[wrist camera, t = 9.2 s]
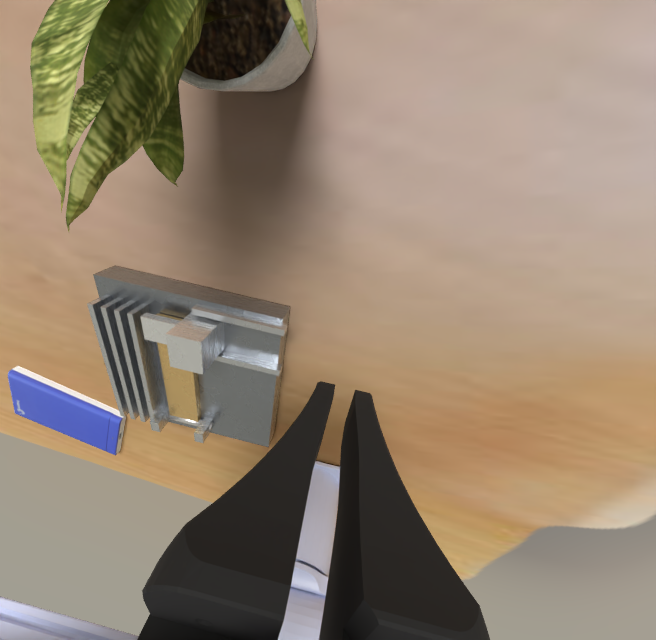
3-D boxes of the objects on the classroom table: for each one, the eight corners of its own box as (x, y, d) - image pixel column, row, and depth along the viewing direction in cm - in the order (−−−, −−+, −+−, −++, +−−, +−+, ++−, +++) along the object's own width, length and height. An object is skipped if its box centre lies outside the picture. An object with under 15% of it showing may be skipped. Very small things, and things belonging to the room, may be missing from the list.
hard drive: (14, 415, 34) (114, 457, 36) (6, 372, 30) (119, 421, 31) (28, 405, 35) (124, 446, 37) (22, 362, 31) (130, 410, 33)
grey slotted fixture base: (278, 431, 30) (266, 465, 26) (144, 397, 30) (116, 426, 27) (295, 307, 22) (280, 333, 19) (115, 265, 22) (70, 283, 19)
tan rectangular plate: (201, 417, 27) (198, 422, 27) (173, 409, 27) (169, 414, 27) (193, 321, 21) (188, 325, 21) (158, 313, 22) (152, 317, 21)
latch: (224, 348, 22) (203, 374, 20) (159, 332, 23) (129, 356, 20) (223, 318, 21) (200, 342, 18) (154, 301, 21) (121, 323, 18)
